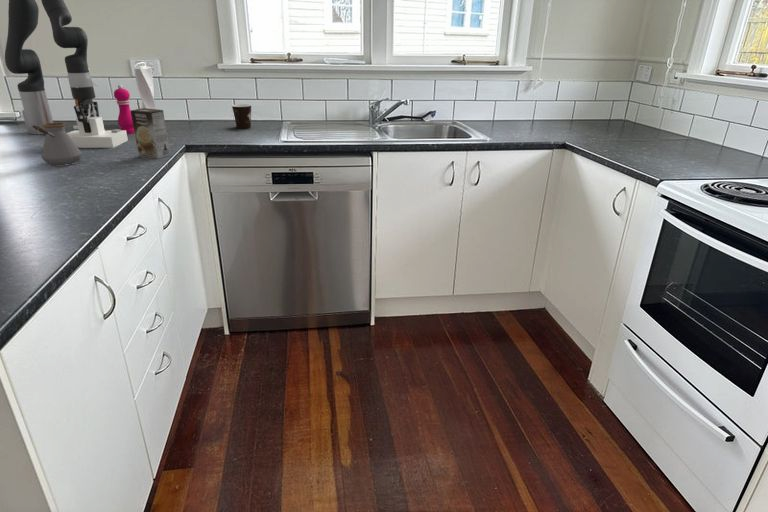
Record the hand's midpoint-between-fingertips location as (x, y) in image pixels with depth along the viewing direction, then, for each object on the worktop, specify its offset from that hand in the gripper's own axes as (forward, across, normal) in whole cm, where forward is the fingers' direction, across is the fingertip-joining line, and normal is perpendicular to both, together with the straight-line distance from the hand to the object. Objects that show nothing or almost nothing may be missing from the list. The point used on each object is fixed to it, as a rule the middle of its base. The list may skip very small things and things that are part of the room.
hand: (91, 131), depth 192 cm
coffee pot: (+5, +36, +5) cm, 37 cm away
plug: (+3, 0, -2) cm, 3 cm away
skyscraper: (+5, -43, +7) cm, 44 cm away
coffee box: (+5, +21, +30) cm, 37 cm away
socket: (+5, 0, 0) cm, 5 cm away
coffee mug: (+5, -36, +50) cm, 62 cm away
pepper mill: (+5, -24, +4) cm, 25 cm away
